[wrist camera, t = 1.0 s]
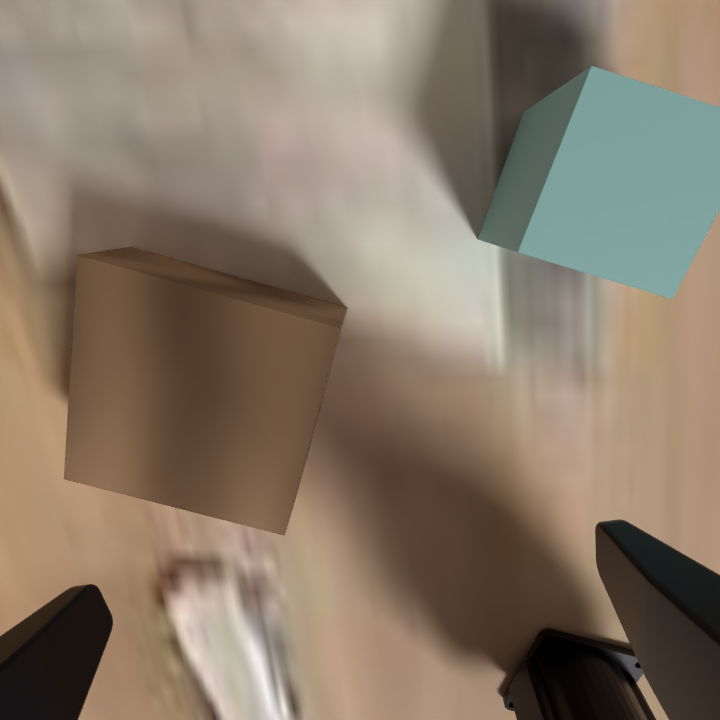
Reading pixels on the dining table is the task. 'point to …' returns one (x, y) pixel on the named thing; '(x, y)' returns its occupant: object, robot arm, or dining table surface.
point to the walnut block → (194, 386)
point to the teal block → (611, 181)
